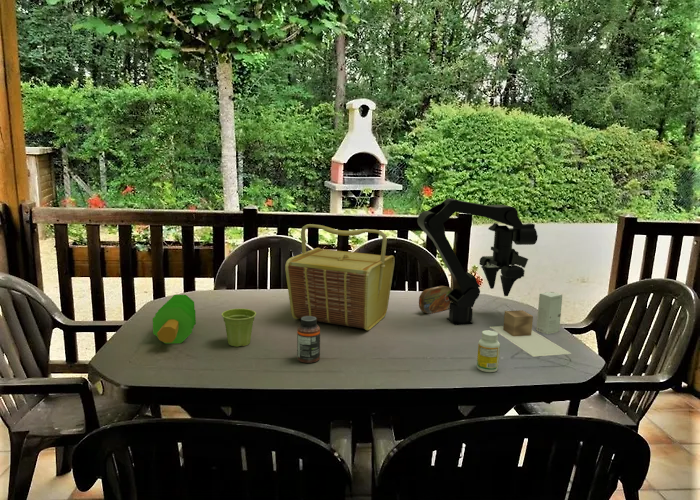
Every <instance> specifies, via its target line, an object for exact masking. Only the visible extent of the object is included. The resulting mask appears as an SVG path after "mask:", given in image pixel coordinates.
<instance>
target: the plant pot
mask: <svg viewBox="0 0 700 500" xmlns="http://www.w3.org/2000/svg"><path fill="white" fill-rule="evenodd" d="M256 316H257V312H256V311H255V310H253V309H249V308H231V309H228V310H224V311H222V313H221V317H222V319H223V322H224V325H225V326H224V327H225V333H226V339H227V343H228V345H229V346H231V347H237V348H238V347H241V346H243V347H246V346H248V345H250V344H251V340H252V331H253V327H254V325H253V324H254V321H255V317H256Z"/></svg>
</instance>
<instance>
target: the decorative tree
mask: <svg viewBox="0 0 700 500" xmlns="http://www.w3.org/2000/svg"><path fill="white" fill-rule="evenodd" d="M195 308H196V307H195V301H194V300H193V299H191V298H190V297H189V296H188V295H187V294H174V295H173V296H172V297H170V299H169V300H167V301H166V302H165V303H164V304H163V305H162V306H161V307H160V308H159V309H158V311H157V312H156V313H155V315H154V317H153V318H152V334H153V335H154V336H155V337H156V338H158V340H159V341H160V342H162V343H164V344H165V345H166V344H170V345H171V344H182V343H183V342H184V341H185V340H186V339H187V338H189V336H190V335H192V333H193V329H194V327H195V325H196V324H197V322H196V321H197V318H196V309H195Z"/></svg>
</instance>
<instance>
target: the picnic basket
mask: <svg viewBox="0 0 700 500" xmlns="http://www.w3.org/2000/svg"><path fill="white" fill-rule="evenodd" d="M308 228H315V229H321V230H323V231H325V232H327V233H330V234H333V235H337V236H342V237H343V236H345V237H346V236H347V237H348V236H359V235H362V234H365V233H370V234H371V233H372V234H379V235H380V236H381V237H382V242H381V250H380V251H381V252H380V254H374V253H366V252H365V253H363V252H355V251H345V250H344V251H343V250H336V249H335V250H334V249H327V248H320V247H316V248H312V249H311V250H308V251H307V244H306V230H307V229H308ZM300 238H301V239H300V240H301V253H300V254H297V255H295V256H291V257H289V258H288V259H287V260H286V262H285V266H284V268H285V276H286V283H287V284H286V285H287V292H288V299H289V300H288V301H289V305H290V306H289V307H290V313H291V316H292V318H293V319H295V320H299V319H300V320H301V318H302V317H304V316H313V317H316V319H317V323H318V322H319V323H325V324H332V325H338V326H339V325H340V326H344V327H351V328H358V329H363V330H365V331H371V329H372V328H374V327H375V326H376V325H377V324H378V323H379V322H381V321H382V320H383V319H384V318H385V316H386V315H387V311H388V309H389V301H390V295H391V287H392V283H393V276H394V270H395V259H396V258H395V256H394V255H392V254H391V255H386V251H387V242H388V239H387V235H386V233H385V232H383V231H382V230H378V229H369V228H363V229H353V230H341V229H335V228H332V227H329V226H325V225H323V224H322V225H321V224H314V223H312V224H311V223H309V224H305V225H304V226H302V227H301V231H300Z"/></svg>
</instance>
